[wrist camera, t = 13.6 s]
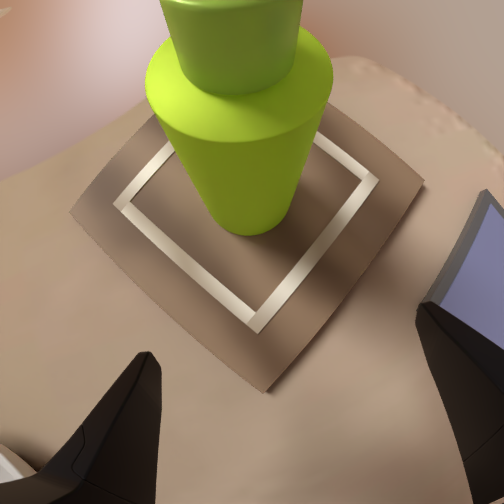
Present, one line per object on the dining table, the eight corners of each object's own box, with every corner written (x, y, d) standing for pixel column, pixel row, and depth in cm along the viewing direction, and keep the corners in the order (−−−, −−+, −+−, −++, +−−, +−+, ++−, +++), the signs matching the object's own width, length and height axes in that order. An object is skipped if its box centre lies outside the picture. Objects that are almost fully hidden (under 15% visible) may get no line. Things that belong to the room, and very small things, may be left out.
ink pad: (493, 389, 19) (500, 391, 18) (416, 310, 20) (423, 311, 19) (544, 278, 20) (551, 277, 19) (480, 191, 22) (487, 188, 21)
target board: (262, 390, 20) (263, 394, 19) (73, 214, 22) (68, 211, 21) (420, 183, 22) (425, 179, 21) (233, 52, 24) (233, 45, 23)
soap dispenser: (296, 247, 20) (522, -48, 1) (196, 225, 21) (-19, -49, 1) (311, 168, 21) (421, -117, 1) (217, 149, 22) (147, -137, 2)
